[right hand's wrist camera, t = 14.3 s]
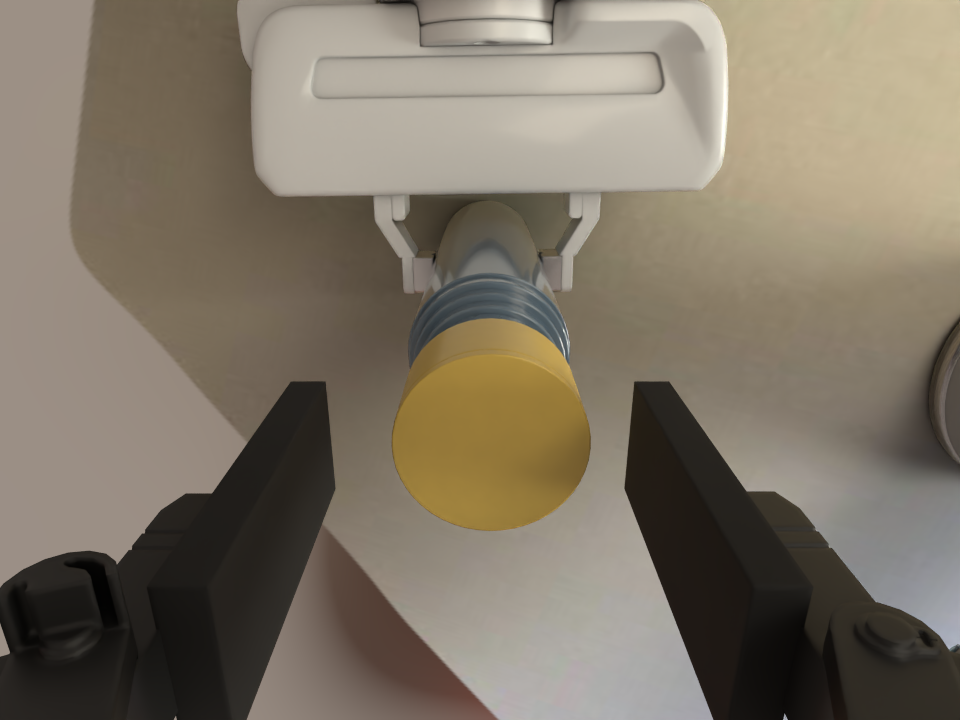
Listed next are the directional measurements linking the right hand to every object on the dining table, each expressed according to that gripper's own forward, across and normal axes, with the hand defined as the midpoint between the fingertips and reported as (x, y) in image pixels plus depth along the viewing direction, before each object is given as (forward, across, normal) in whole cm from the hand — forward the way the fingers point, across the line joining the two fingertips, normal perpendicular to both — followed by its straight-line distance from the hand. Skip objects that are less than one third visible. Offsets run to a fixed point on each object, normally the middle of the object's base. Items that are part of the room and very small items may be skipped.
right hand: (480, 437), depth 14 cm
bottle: (+24, 0, 0) cm, 24 cm away
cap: (+2, 0, 0) cm, 2 cm away
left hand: (+17, 0, -1) cm, 17 cm away
